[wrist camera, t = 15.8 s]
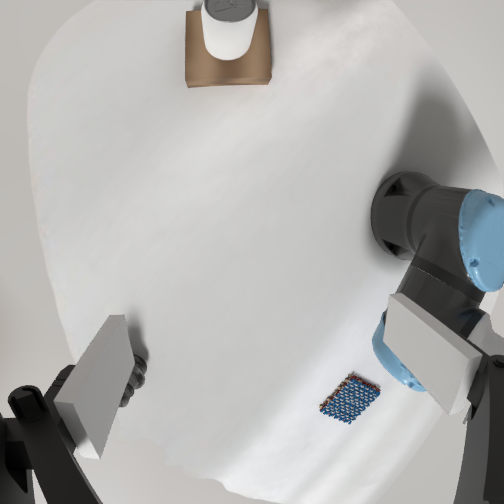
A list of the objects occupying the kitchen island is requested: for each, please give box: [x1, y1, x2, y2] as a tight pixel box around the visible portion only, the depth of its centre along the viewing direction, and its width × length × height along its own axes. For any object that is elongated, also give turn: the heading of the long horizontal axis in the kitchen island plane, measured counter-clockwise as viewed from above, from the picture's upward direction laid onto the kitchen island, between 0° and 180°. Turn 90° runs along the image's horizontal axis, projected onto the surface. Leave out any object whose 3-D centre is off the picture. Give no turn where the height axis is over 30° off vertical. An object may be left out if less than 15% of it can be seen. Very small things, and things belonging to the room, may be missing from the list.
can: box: [201, 0, 258, 60], centre depth 32 cm, size 6×6×12 cm
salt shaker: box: [119, 354, 147, 407], centre depth 47 cm, size 6×6×12 cm
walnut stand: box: [185, 9, 272, 88], centre depth 40 cm, size 12×12×4 cm
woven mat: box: [319, 374, 381, 424], centre depth 59 cm, size 10×11×2 cm
